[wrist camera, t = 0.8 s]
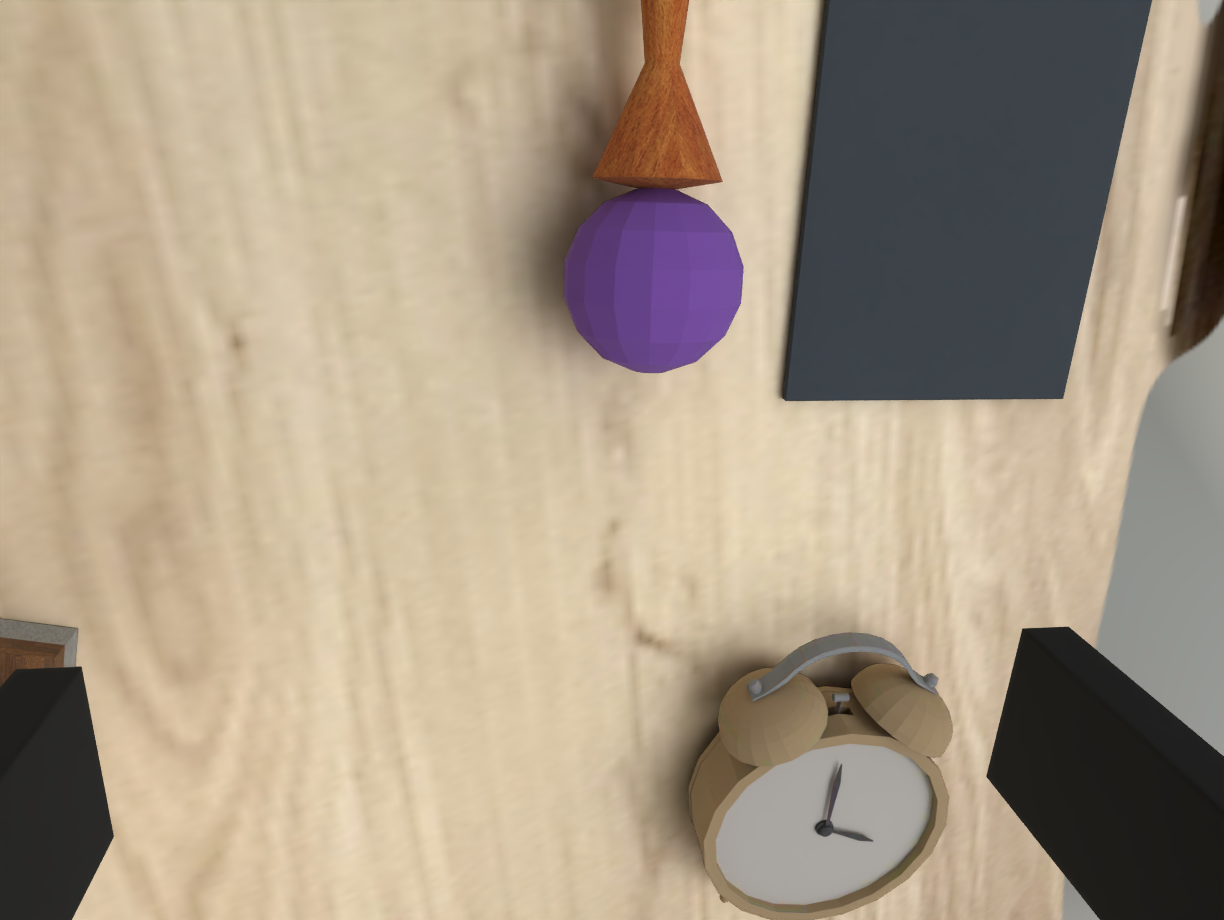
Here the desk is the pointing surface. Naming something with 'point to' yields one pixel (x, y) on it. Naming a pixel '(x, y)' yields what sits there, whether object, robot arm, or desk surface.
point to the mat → (956, 194)
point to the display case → (35, 646)
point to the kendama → (655, 224)
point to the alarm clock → (821, 784)
